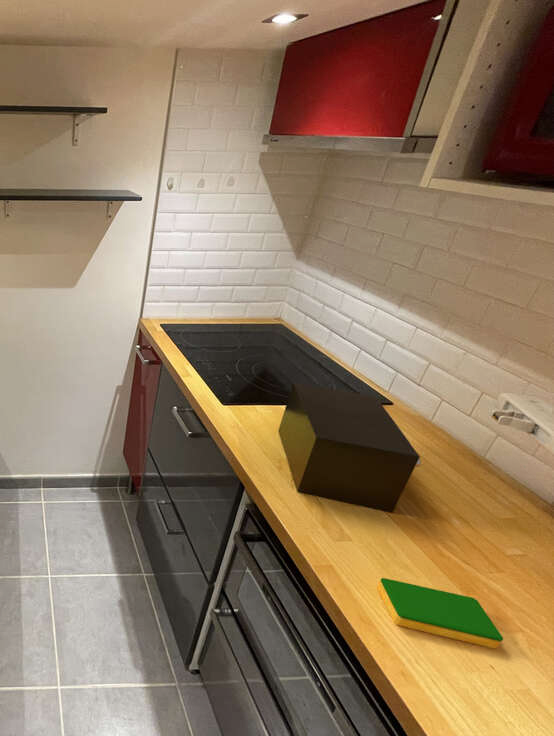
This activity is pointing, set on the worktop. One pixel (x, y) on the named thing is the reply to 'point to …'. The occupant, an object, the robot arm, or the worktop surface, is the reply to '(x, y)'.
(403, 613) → the dish sponge
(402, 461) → the black box
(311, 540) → the worktop surface
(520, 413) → the robot arm
